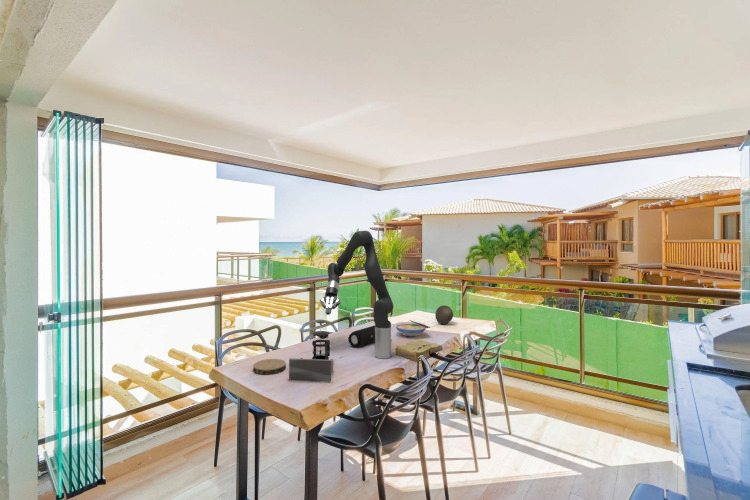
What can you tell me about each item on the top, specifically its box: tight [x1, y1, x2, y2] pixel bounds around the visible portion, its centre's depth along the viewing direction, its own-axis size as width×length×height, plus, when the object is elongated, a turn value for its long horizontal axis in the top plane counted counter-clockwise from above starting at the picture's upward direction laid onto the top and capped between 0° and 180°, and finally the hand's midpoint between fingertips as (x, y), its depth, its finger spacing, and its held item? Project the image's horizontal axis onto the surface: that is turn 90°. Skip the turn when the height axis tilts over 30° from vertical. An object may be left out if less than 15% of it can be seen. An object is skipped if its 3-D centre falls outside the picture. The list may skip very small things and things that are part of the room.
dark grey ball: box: [434, 305, 454, 325], centre depth 288 cm, size 14×14×15 cm
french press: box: [311, 320, 331, 360], centre depth 192 cm, size 12×9×23 cm
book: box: [394, 339, 444, 363], centre depth 212 cm, size 25×17×6 cm
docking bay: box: [288, 357, 334, 382], centre depth 176 cm, size 14×20×10 cm
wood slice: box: [252, 358, 287, 376], centre depth 183 cm, size 16×16×3 cm
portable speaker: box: [347, 324, 375, 348], centre depth 232 cm, size 26×10×10 cm, turn 142°
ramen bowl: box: [394, 319, 431, 338], centre depth 253 cm, size 25×23×8 cm
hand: (327, 314), depth 207 cm, fingers closed
